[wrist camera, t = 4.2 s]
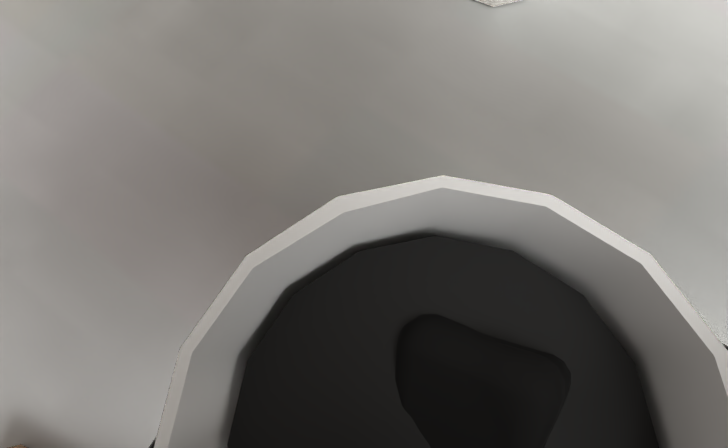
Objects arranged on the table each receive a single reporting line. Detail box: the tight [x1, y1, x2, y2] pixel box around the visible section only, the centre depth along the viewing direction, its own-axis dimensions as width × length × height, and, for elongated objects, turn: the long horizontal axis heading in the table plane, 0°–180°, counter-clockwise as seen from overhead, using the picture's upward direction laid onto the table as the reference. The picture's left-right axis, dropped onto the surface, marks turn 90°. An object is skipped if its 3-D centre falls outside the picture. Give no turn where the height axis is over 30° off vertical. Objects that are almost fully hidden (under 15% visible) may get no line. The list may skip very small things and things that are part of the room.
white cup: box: [154, 175, 728, 448], centre depth 11 cm, size 7×7×10 cm
